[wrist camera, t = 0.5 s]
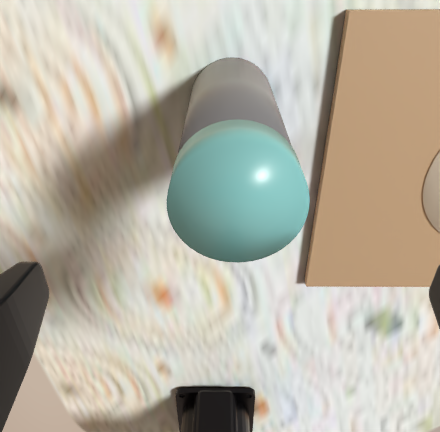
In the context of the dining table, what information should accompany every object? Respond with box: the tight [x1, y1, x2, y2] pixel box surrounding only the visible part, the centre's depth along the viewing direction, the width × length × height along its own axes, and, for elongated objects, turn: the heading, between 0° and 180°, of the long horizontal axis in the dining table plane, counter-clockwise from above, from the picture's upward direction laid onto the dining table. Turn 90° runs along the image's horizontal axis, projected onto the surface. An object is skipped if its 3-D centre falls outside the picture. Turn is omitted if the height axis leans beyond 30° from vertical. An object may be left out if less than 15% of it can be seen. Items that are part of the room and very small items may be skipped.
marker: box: [167, 58, 310, 262], centre depth 16 cm, size 4×4×10 cm
